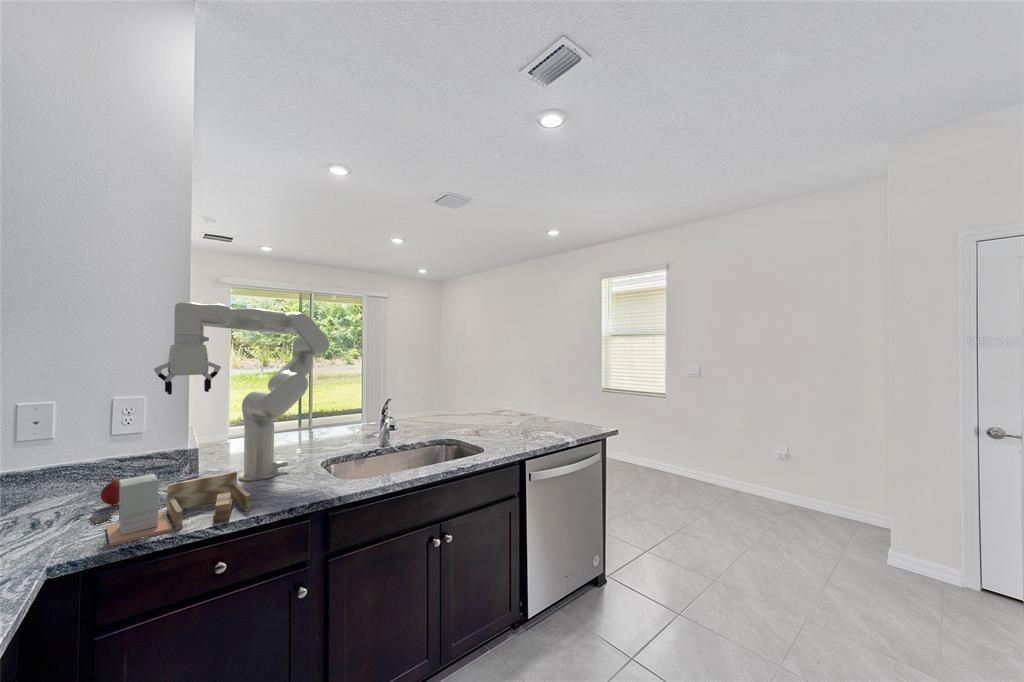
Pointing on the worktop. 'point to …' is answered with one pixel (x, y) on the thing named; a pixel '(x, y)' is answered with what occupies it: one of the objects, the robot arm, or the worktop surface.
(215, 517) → the brown wooden rectangular block
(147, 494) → the supplement box
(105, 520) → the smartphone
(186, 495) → the light wood blocky piece
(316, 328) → the robot arm
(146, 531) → the terracotta tile
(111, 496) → the onion
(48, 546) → the worktop surface
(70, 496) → the worktop surface
